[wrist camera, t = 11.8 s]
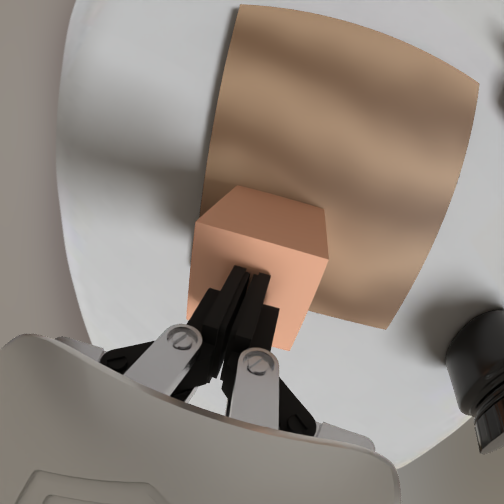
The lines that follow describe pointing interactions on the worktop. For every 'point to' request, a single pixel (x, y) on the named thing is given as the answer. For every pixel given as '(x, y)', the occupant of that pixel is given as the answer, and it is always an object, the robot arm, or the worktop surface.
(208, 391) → the worktop surface
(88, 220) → the worktop surface
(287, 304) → the salmon orange block
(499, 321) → the ink bottle
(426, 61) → the base board
